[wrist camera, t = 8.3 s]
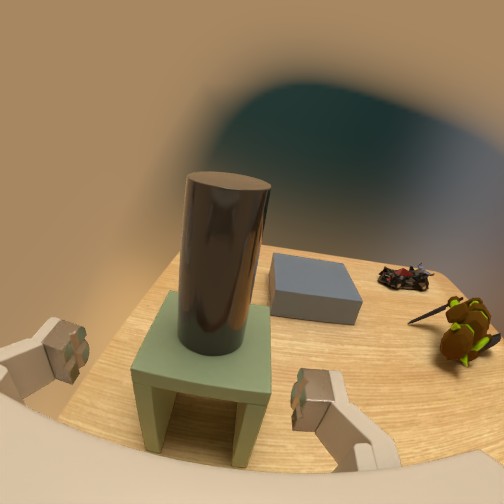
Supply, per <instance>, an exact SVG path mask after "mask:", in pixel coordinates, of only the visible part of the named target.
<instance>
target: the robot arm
mask: <svg viewBox="0 0 504 504" xmlns="http://www.w3.org/2000/svg"><path fill="white" fill-rule="evenodd" d="M85 336H86V331H85V328H84V327H82V326H79V325H77V324H74V323H70V322H68V321H65V320H61V319H58V318H56V317H51V318H49V319H48V320H47V321H46V323H45V324H44V325H43V326H42V327H41V328H40V329H39V331H37V333H36V334H35V335H34V336H33V337H32V338H31V339H29V338H28V339H24V340H22V341H19V342H16V343H14V344H11V345H8V346H6V347H3V348H0V504H504V466H503V465H502V464H500V463H499V462H498V461H496V460H495V459H494V458H492V457H491V456H490V455H488V454H487V453H485V452H483V451H482V450H473V451H469V452H465V453H461V454H458V455H454V456H450V457H446V458H441V459H437V460H432V461H428V462H423V463H417V464H412V465H406V466H402V465H401V462H400V458H399V455H398V451H397V448H396V445H395V441H394V440H393V439H392V438H391V437H390V436H389V435H388V434H387V433H386V432H384V431H383V430H382V429H381V428H380V427H379V426H378V425H377V424H376V423H375V422H373V421H372V420H371V419H370V418H369V417H368V416H367V415H366V414H365V413H364V412H362V411H361V410H360V409H359V408H358V407H357V406H356V405H355V404H354V403H350V402H349V398H348V394H347V390H346V387H345V383H344V379H343V375H342V372H341V371H336V370H318V369H305V368H301V369H300V370H299V372H298V375H297V379H298V381H297V382H296V383H294V385H293V388H292V393H291V408H292V409H293V410H294V412H293V414H292V416H291V417H292V431H305V432H315V434H316V436H317V437H318V438H319V440H320V441H321V442H322V444H323V445H324V446H325V448H326V449H327V450H328V452H329V453H330V454H331V456H332V457H333V458H334V459H335V461H336V462H337V463H338V466H337V468H336V469H335V470H334V471H333V472H332V473H279V472H263V471H251V470H241V469H232V468H224V467H217V466H211V465H204V464H199V463H193V462H188V461H183V460H178V459H173V458H169V457H164V456H160V455H156V454H152V453H148V452H144V451H141V450H137V449H134V448H130V447H127V446H123V445H120V444H117V443H114V442H111V441H108V440H105V439H102V438H99V437H96V436H94V435H91V434H88V433H85V432H83V431H80V430H78V429H75V428H73V427H70V426H68V425H65V424H63V423H61V422H59V421H56V420H54V419H52V418H50V417H47V416H45V415H43V414H41V413H39V412H37V411H35V410H33V409H31V408H29V407H27V406H26V405H25V403H24V401H23V399H24V398H26V397H27V396H29V395H31V394H32V393H34V392H36V391H37V390H39V389H41V388H42V387H44V386H45V385H47V384H49V383H51V382H52V381H54V380H55V379H58V380H60V381H63V382H66V383H69V384H72V385H73V383H74V382H75V380H76V378H77V377H78V375H79V374H80V373H79V368H81V367H83V366H85V364H86V362H87V360H88V357H89V345H88V343H87V341H86V340H85V339H84V338H85Z"/></svg>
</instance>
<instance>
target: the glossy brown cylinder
mask: <svg viewBox="0 0 504 504" xmlns="http://www.w3.org/2000/svg"><path fill="white" fill-rule="evenodd" d="M270 190H271V186H270V185H269V184H268V183H266V182H265V181H262V180H259V179H256V178H253V177H248V176H244V175H239V174H232V173H224V172H195V173H191V174H188V175H187V180H186V189H185V200H184V211H183V224H182V236H181V251H180V267H179V287H178V315H177V336H178V338H179V340H180V342H181V343H182V344H183V345H184V346H185V347H186V348H188V349H189V350H191V351H193V352H195V353H198V354H201V355H205V356H223V355H227V354H230V353H232V352H234V351H236V350H237V349H238V348H239V347H240V346H241V345H242V343H243V341H244V336H245V330H246V325H247V319H248V314H249V308H250V303H251V297H252V292H253V286H254V281H255V275H256V270H257V264H258V258H259V253H260V247H261V241H262V235H263V230H264V224H265V219H266V213H267V207H268V201H269V196H270Z"/></svg>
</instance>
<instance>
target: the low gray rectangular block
mask: <svg viewBox="0 0 504 504" xmlns="http://www.w3.org/2000/svg"><path fill="white" fill-rule="evenodd" d="M269 290H270V315H273V316H280V317H288V318H296V319H304V320H312V321H321V322H330V323H339V324H349V325H354V323H355V321H356V318H357V316H358V313H359V310H360V308H361V305H362V302H363V301H362V299H361V297H360V295H359V293H358V291H357V289H356V287H355V285H354V283H353V281H352V279H351V277H350V275H349V273H348V271H347V270H346V268H345V266H344V264H342V263H336V262H330V261H323V260H317V259H311V258H304V257H298V256H292V255H285V254H279V253H273V257H272V262H271V267H270V272H269Z"/></svg>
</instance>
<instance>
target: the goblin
mask: <svg viewBox="0 0 504 504" xmlns="http://www.w3.org/2000/svg"><path fill="white" fill-rule="evenodd" d="M461 300H463V297H461V298H458V297H457V296H455V297H451V298H450V299H449V300H448V304H446V305H444V306H441V307H439V308H437V309H435V310H433V311H431V312H429V313H427V314H424V315H422V316H420V317H418V318H416V319H414V320H412V321H410V322H409V323H408V324H411V323H414V322H416V321H419V320H422V319H424V318H427V317H429V316H432V315H434V314H437V313H439V312H441V311H443V310H445V309H446V307H448V306H449V307H450V308H451V309H449V310H448V311H447V312H446V317H447V320H448V322H449V323H453V324H452V326H451V328H450V329H449V330H448V331H447V332H446V333H444V336H443V338H442V339H441V346H440V351H441V353H442V354H443V355H444V356H445V357H446V358H447V360H459V361H461V362H462V363H464V364H465V365H466V366H467V367H468V361H472V360H474V359H476V358H478V357H479V356H480V353H478V352H481V351H484V350H486V349H488V348H490V347H492V346H494V345H495V344H497V343H498V342H499V341H500V339H501V334H500V333H499V334H496V335H493V336H492V335H491V334H487V330H488V329H489V324H490V319H491V315H490V313H489V311H488V310H487V309H486V307H485V305H483V301H482V300H481V299H480V298H472V299H470V300H468V301H466V302H464V303H461V304H459V302H460V301H461Z"/></svg>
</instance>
